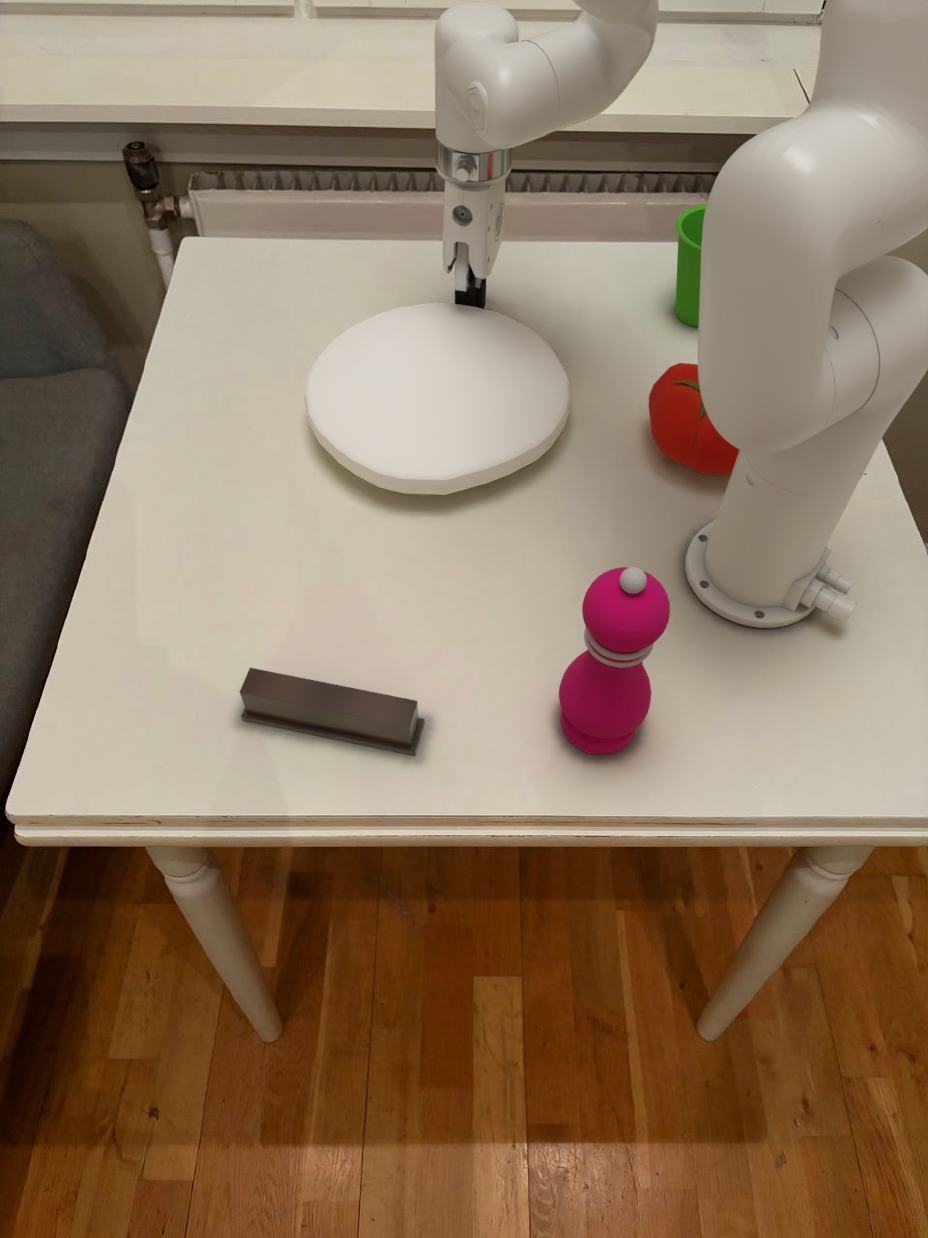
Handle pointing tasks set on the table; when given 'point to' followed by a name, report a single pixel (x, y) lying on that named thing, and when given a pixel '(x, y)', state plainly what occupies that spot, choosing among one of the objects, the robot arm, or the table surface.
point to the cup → (689, 264)
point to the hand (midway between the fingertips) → (470, 309)
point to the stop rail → (331, 711)
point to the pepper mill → (613, 660)
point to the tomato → (687, 423)
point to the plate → (437, 398)
